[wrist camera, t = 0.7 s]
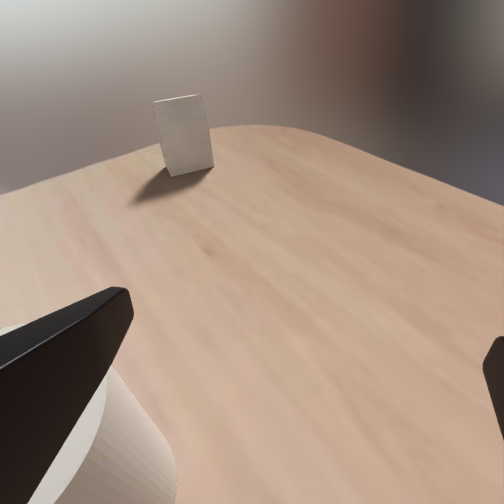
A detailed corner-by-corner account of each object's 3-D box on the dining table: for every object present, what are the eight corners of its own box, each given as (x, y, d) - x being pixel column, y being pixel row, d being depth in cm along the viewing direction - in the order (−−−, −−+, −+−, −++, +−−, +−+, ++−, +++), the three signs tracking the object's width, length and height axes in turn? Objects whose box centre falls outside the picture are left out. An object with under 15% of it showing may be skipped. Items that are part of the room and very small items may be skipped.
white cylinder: (168, 404, 22) (108, 300, 14) (186, 554, 17) (105, 526, 8) (45, 446, 21) (-103, 355, 12) (19, 628, 15) (-288, 685, 7)
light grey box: (214, 166, 48) (204, 97, 41) (171, 177, 46) (153, 106, 39) (206, 157, 51) (197, 90, 44) (165, 166, 49) (148, 98, 42)
